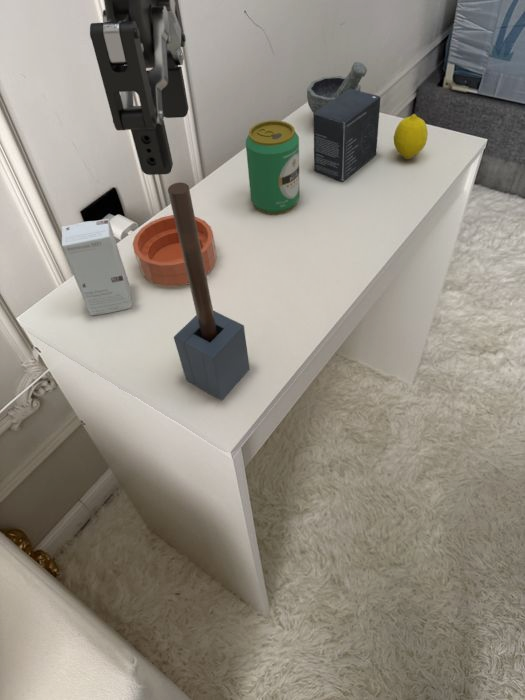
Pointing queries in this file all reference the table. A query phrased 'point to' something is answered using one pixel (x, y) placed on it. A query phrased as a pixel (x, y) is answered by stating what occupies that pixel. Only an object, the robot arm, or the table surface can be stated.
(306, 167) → the table surface
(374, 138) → the box
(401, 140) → the fruit
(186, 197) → the stick
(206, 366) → the holder
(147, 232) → the bowl
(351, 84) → the mortar and pestle
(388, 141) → the table surface
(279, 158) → the beverage can
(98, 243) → the cosmetic box
